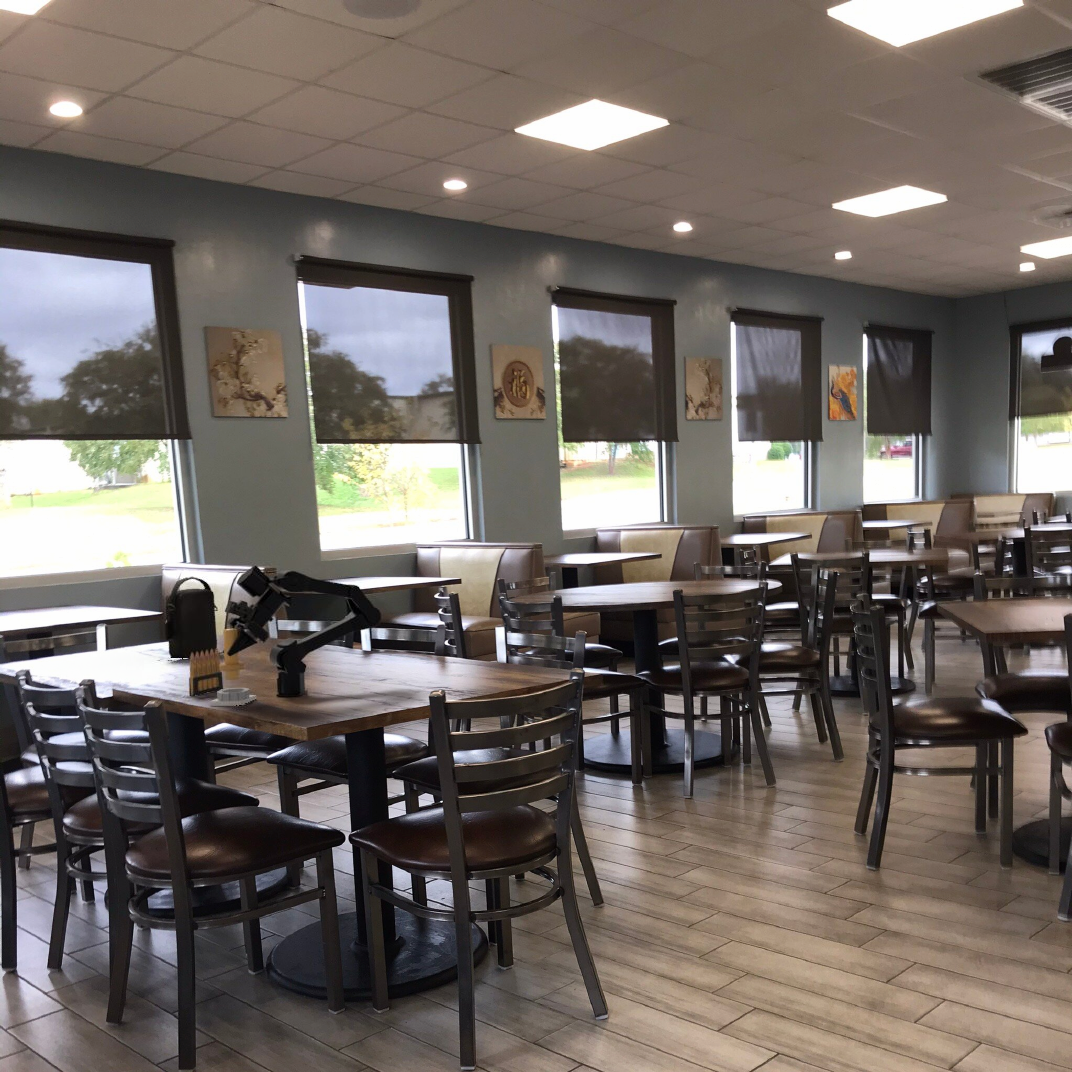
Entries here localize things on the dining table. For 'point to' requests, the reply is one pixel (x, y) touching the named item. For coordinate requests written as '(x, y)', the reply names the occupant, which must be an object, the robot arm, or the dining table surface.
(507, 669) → the dining table surface
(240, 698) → the housing
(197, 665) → the ammunition clip
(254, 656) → the dining table surface
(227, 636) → the tan peg
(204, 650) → the shoulder bag
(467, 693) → the dining table surface
